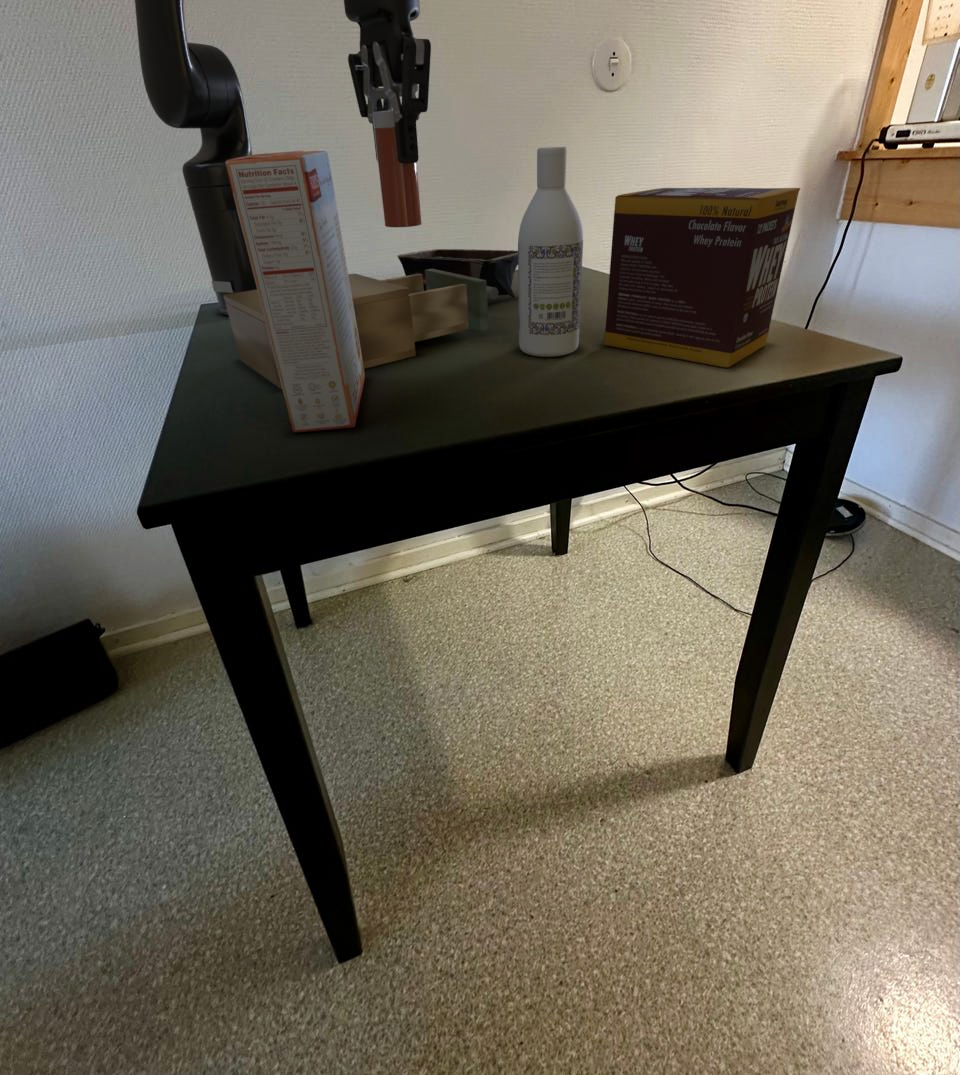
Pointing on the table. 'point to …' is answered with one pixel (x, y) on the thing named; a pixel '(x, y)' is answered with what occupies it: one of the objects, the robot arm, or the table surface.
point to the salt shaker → (395, 176)
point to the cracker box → (302, 283)
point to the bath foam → (550, 263)
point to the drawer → (446, 302)
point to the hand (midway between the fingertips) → (397, 162)
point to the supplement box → (697, 270)
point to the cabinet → (377, 322)
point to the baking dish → (466, 265)
